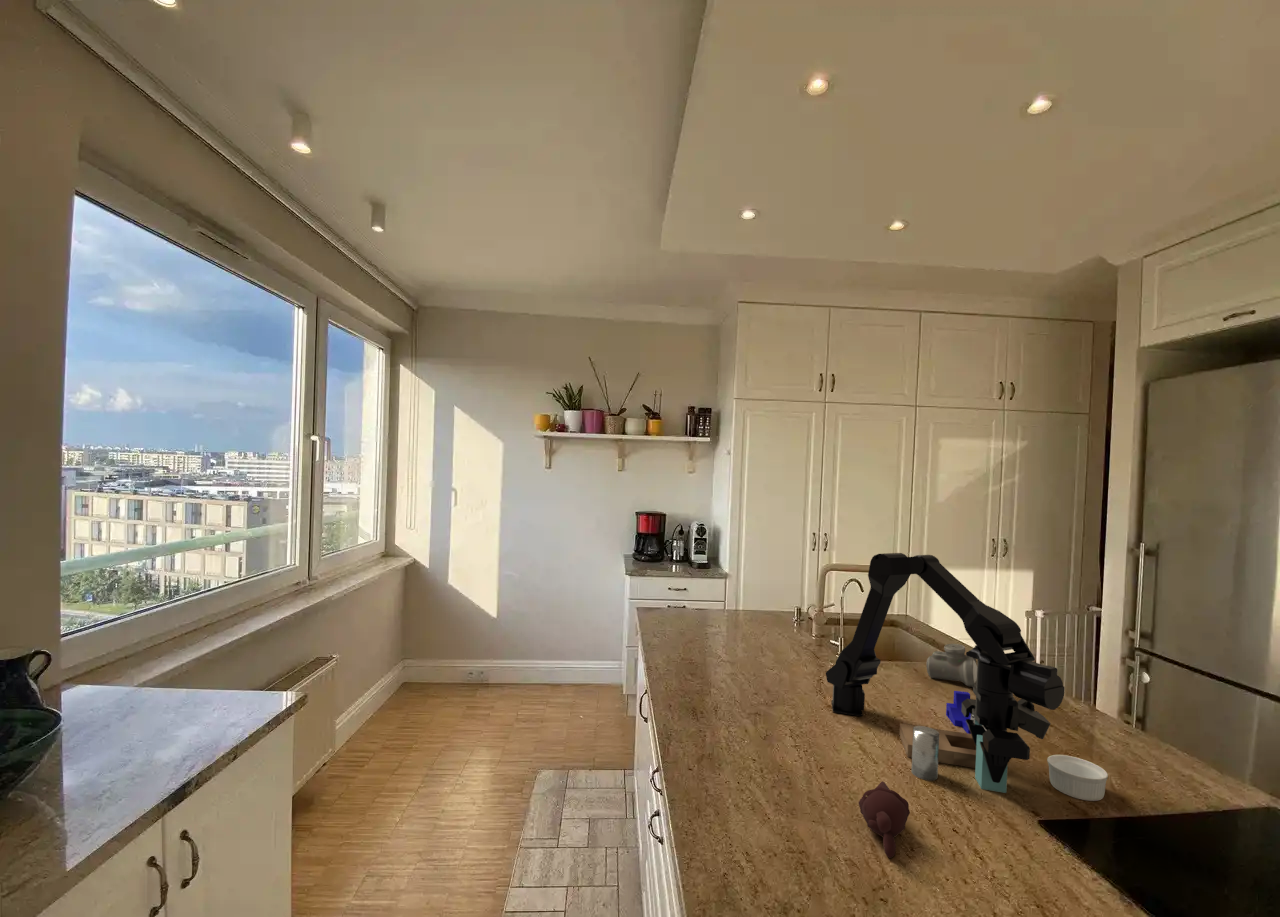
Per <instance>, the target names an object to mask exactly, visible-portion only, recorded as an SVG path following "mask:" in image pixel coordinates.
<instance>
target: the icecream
mask: <svg viewBox="0 0 1280 917" xmlns="http://www.w3.org/2000/svg"><path fill="white" fill-rule="evenodd" d="M858 806H859V808H860V814H861V815H862V817H863V819H864V820H865V822H866V826H867V828H869V829H870V830H871V831H872V832H874V833H875V834H877V835H878V836H879V837H882V838H883V840H882V842H883V850H884V853H885V855H886V857H887V858H889V859H890V858H891V859H892V858H893V857H894V856H895V855H896V848H897V844H896V840H895V838H896V837H897V836H898V835H899V834H900V833H902V832H903V831H905V829H906V824H907V821H908V818H909V815H910V814H911V810H910V808H909V806H910V805H909V801H908V800H906V799H905V798H904V797H903V796H901V795H900V793H898V792H896V791H894V790H893V789H890V788H889V786H888V785H887V784H886V782H884V781H883V780H882V781H880V782H879V784H878V785H877V786H876V787H875V788H874V789H869V790H866V791H865V792H864V793H863V795H862V797H861V798H860V799H859V800H858Z"/></svg>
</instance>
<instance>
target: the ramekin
mask: <svg viewBox="0 0 1280 917" xmlns="http://www.w3.org/2000/svg"><path fill="white" fill-rule="evenodd" d="M1046 759H1047V760H1046V762H1047V765H1048V773H1049V782H1050V785H1051V786H1052V787H1053V788H1055V790H1057V791H1059V792H1060V793H1062V794H1064V795H1066V796H1069V797H1072V798H1074V799H1076V800H1077V799H1078V800H1082V801H1090V802H1096V801H1100V800H1102V799H1104V796H1105V794H1106V793H1105V792H1106V785H1107V780H1108V778H1109V775H1108V772H1107V771H1106V770H1105V769H1104V768H1103V767H1101V766H1100V765H1098V764H1096V763H1093V762H1091V761H1090V760H1089V761H1088V760H1086V759H1082V758H1079V757H1076V756H1071V755H1067V754H1053V755H1050V756H1048V757H1047V758H1046Z"/></svg>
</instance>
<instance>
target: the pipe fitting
mask: <svg viewBox="0 0 1280 917" xmlns="http://www.w3.org/2000/svg"><path fill="white" fill-rule="evenodd" d="M943 647H944V648H943V649H944V651H938V650H937V651H934V652H933V653H932V655H929V656H928V657H927V659H926V664H925V665H926V672H927V674H928V676H929V677H930V678H931V679H936V680H937V679H938V680H944V681H945V680H946V681H955V682H962V683H963V684H964V685H965V686H967V687H969V688H973V687H976V684H977V659H975V658H972V657H969V656H967V655H966V647H965V645H963V644H960V643H948V644H945V645H944V646H943Z"/></svg>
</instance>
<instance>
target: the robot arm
mask: <svg viewBox="0 0 1280 917" xmlns="http://www.w3.org/2000/svg"><path fill="white" fill-rule="evenodd" d="M911 575H917V576H918V577H919V578H920V579H921V580H923V582H924V583H926V584H927V586H929V588H930V589H931V590H932V591H933V592H934V593H935V594H936V595H937V596H938V597H939V598H941V599H942V601H943V602H945V603H946V605H948V607H950V608H951V610H953V612H954V613H955V614H957V616H958V617H959V618H960V619H961V621H962V623H963V627H964V629H965V632H966V633H967V635H968V636H969V637H970V639H971V640H972V641H973V642H974V644H975V646H974V647H973V648H972V649H970V650H968V651H965V655H967V656H969V657H972V658H975V659H976V664H977V684H976V687H972V693H973V694H974V695H975V699H973V698H970V699H966V700H964V701H963V702H962V710H961V712H962V713H963V715H964V716H965V717H969V713H970V714H971V719H966V723H967V725H968V728H969V730H970V733H971V735H972V738H973V741H974V743H975V746H976V744H977V735H983V742H980V745H981V748H982V751H983V754H984V757H985V760H986V764H987V767H988V770H989V773H990V776H991V779H992V781H993V782H996V783H1000V781H1001V778H1002V776H1003V774H1004V771H1005V769H1006V766H1007V764H1008V765H1009V762H1010V761H1011V759H1017V760H1024V761H1028V760H1030V757H1031V756H1030V755H1031V754H1030V753H1031V752H1030V751H1031V748H1030V747H1029V745H1028V744H1027V742H1026V741H1025V739H1023V738H1022V737H1021V736H1020V734H1019V733H1017V732H1019V728H1020V729H1022V730H1023V731H1026V732H1028V733H1030V734H1032V735H1035V737H1036V738H1038V739H1039V740H1044V739H1045V736H1046V734H1047V732H1048V730H1049V728H1050V726H1051V722H1050V721H1049V720H1048V719H1047V718H1046V716H1044V715H1043V714H1041V713H1040V712H1039V711H1037V710H1035V705H1038V706H1041V707H1043V708H1045V709H1049V710H1050V711H1051V710H1052V711H1055V710H1057V709H1058V708H1059V707H1060V706H1061V704H1062V702H1063V700H1064V696H1065V688H1066V687H1065V686H1064V683H1063V680H1062V678H1061V676H1059V675H1058V668H1057V667H1055V666H1051V665H1045V664H1042V663H1039V662H1036V661H1035V660H1036V657H1035V656H1034V654H1033V653H1032V651H1031V650H1030V648H1029V646H1028V644H1027V642H1026V641H1025V639H1024V637H1023V636H1022V633H1021V632H1022V630H1021V627H1020V625H1018V624H1017V622H1015V621H1014V620H1013V619H1012V618H1010V617H1009V616H1007V615H1006V614H1004V613H1003V612H1002V611H1000V610H998V609H996V608H993V607H992V606H989V605H987V604H986V603H984V602H982V601H981V600H980V599H979V598H978V597H976V595H974V594H973V593H972V592H971V590H969V589H968V588H967V587H966V586H965V585H964V584H963V583H962V582H961V581H960V580H959V579H958V578H956V577H955V575H953V574H952V573H951V572H950V571H949V569H947V568H946V567H945V566H944V565H942V564H941V562H940V560H939V558H938V557H936V556H935V555H932V554H918V555H914V556H907V555H906V554H904V553H903V552H892V553H891V552H890V553H889V552H888V553H878V554H875V555H873V556H872V557H871V559H870V562H869V567H868V573H867V577H868V581H869V584H870V587H869V588H870V589H869V592H868V594H867V598H866V600H865V603H864V606H863V608H862V611H861V614H860V617H859V620H858V623H857V626H856V629H855V632H854V634H853V637H852V640H851V641H850V642H849V643H848V644H847V645H846V646H845V647H844V648H843V649H842V650H841V651H840V653H839V654H838V657H837V658H836V661H835V664H834V665H832V667H830V668H829V669H828V670H827V671H825V677H826V682H827V683H829V684H831V685H832V699H831V710H832V712H833V713H836V714H842V715H843V714H844V715H850V716H857V717H863V716H864V715H863V712H865V699H866V698H865V697H866V693H865V690H864V688H863V686H864V685H868V684H869V683H870V680H871V678H873V677H874V676H877V675H878V668H879V666H880V664H881V659H880V658H878V657H877V654H876V651H875V649H876V644H877V642H878V640H879V637H880V634H881V632H882V629H883V625H884V623H885V621H886V618H887V615H888V612H889V609H890V607H891V603H892V601H893V598H894V596H895V595H896V593H898V592H899V590H901V589H902V588H903V587H904V586H906V583H907V582H908V580H909V578H910V576H911ZM1011 650H1012V652H1006V653H1005V651H1011ZM1014 696H1015V697H1016V698H1019V700H1016V698H1015V697H1014ZM1008 730H1010V731H1008ZM1012 731H1013V732H1012ZM1014 731H1016V732H1014Z"/></svg>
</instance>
